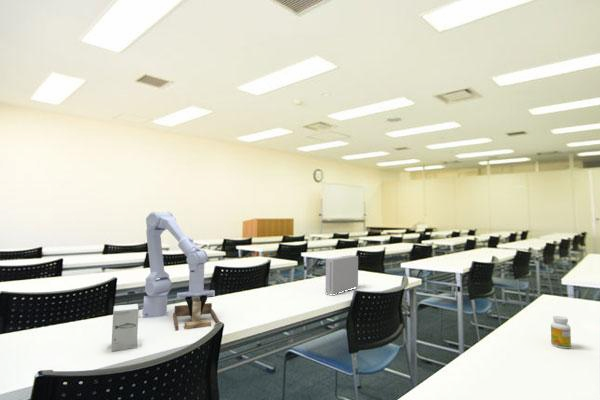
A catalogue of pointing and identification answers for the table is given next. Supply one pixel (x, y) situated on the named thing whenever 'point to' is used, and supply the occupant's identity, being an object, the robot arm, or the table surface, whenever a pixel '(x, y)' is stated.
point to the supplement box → (125, 327)
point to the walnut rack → (184, 311)
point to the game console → (341, 274)
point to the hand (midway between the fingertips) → (195, 315)
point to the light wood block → (196, 309)
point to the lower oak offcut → (199, 327)
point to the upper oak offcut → (197, 324)
